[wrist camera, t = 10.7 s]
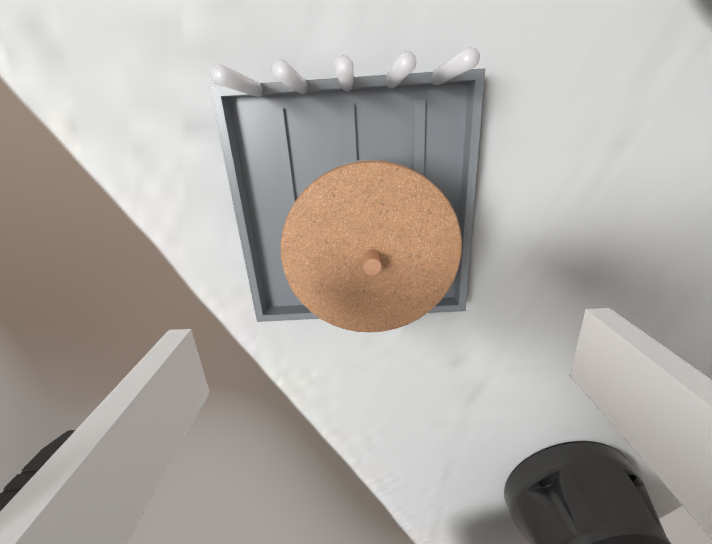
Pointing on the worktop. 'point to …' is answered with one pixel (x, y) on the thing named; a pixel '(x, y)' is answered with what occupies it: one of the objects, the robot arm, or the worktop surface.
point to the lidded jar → (371, 246)
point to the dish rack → (343, 151)
